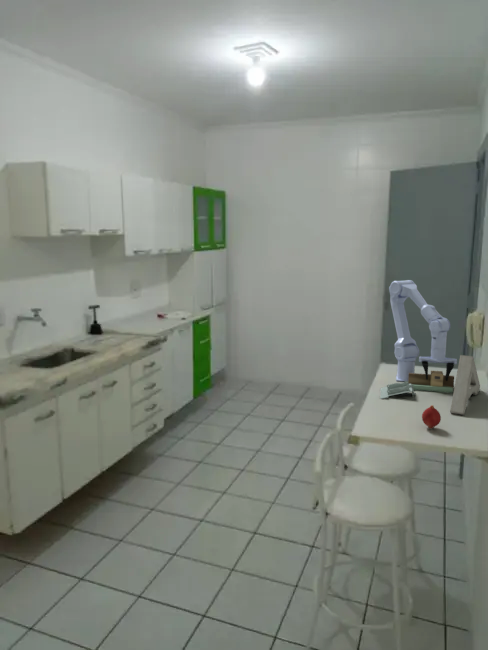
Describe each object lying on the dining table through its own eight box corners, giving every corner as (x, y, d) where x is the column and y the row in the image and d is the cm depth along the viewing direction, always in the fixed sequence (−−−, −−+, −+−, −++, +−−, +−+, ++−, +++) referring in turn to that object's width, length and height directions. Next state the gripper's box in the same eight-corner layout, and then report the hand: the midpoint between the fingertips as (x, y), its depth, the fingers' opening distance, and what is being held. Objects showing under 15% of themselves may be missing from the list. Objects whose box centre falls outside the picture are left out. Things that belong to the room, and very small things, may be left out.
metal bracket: (411, 377, 209) (413, 387, 195) (415, 390, 210) (417, 401, 195) (376, 384, 213) (376, 395, 199) (380, 397, 214) (380, 409, 200)
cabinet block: (430, 385, 215) (430, 370, 214) (441, 386, 213) (442, 371, 212) (430, 389, 209) (431, 374, 208) (442, 390, 208) (443, 374, 207)
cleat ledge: (410, 385, 217) (410, 380, 217) (450, 388, 213) (451, 383, 212) (411, 389, 211) (411, 385, 210) (452, 392, 206) (452, 388, 206)
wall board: (408, 384, 219) (408, 372, 218) (453, 387, 214) (453, 375, 213) (408, 385, 218) (408, 373, 217) (453, 388, 212) (454, 376, 212)
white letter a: (471, 437, 202) (463, 413, 178) (460, 435, 204) (450, 411, 181) (480, 386, 209) (473, 356, 186) (468, 384, 212) (460, 354, 188)
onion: (418, 425, 170) (419, 402, 169) (435, 424, 171) (436, 402, 169) (425, 431, 165) (427, 408, 163) (443, 431, 165) (444, 407, 164)
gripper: (420, 348, 207) (418, 380, 210) (458, 350, 203) (456, 383, 205) (419, 345, 214) (417, 376, 216) (456, 347, 210) (454, 379, 212)
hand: (436, 379), depth 211 cm, fingers open, 7 cm apart
